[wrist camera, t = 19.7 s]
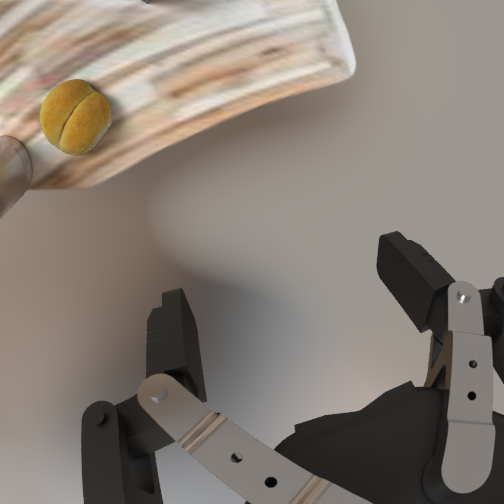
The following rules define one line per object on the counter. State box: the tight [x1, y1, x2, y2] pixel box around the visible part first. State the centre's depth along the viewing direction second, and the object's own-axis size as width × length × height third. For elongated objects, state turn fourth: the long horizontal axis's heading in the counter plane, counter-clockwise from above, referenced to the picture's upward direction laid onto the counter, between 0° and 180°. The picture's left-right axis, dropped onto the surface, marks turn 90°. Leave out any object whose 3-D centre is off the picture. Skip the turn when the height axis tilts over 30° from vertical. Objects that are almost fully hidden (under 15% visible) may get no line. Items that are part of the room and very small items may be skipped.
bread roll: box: [40, 79, 112, 155], centre depth 28 cm, size 8×9×4 cm
